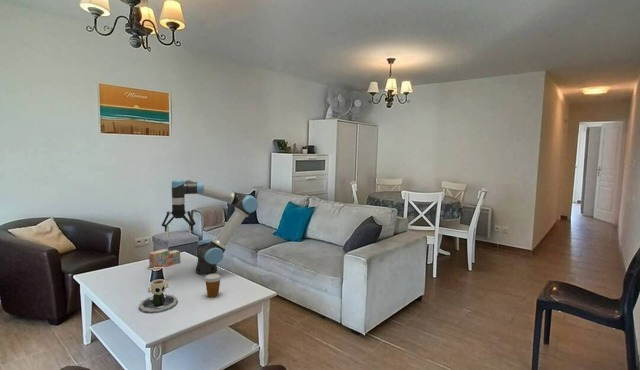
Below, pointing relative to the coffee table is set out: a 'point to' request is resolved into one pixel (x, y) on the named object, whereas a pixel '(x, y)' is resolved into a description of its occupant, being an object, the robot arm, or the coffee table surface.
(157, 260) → the stack of blocks
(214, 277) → the disposable coffee cup
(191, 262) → the coffee table surface
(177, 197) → the robot arm
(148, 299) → the silver metal tray
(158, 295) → the character mug
